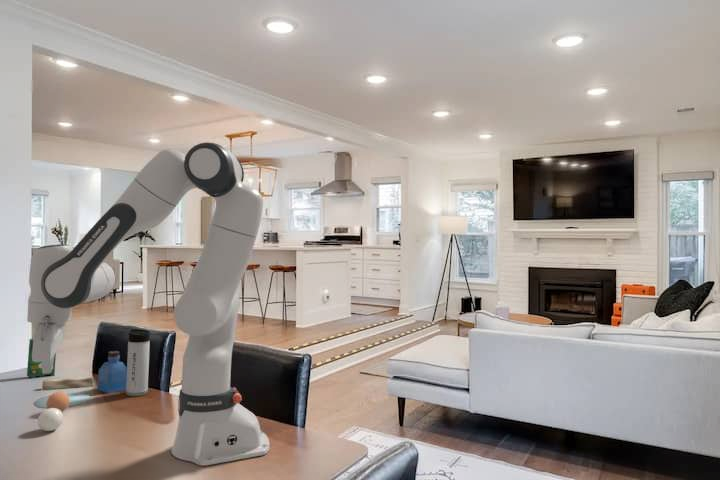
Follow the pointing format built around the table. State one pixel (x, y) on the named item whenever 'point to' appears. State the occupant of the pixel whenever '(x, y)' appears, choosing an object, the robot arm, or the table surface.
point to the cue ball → (50, 419)
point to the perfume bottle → (112, 374)
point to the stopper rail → (67, 383)
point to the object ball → (58, 401)
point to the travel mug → (138, 362)
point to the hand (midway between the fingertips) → (47, 372)
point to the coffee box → (36, 364)
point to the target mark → (73, 399)
